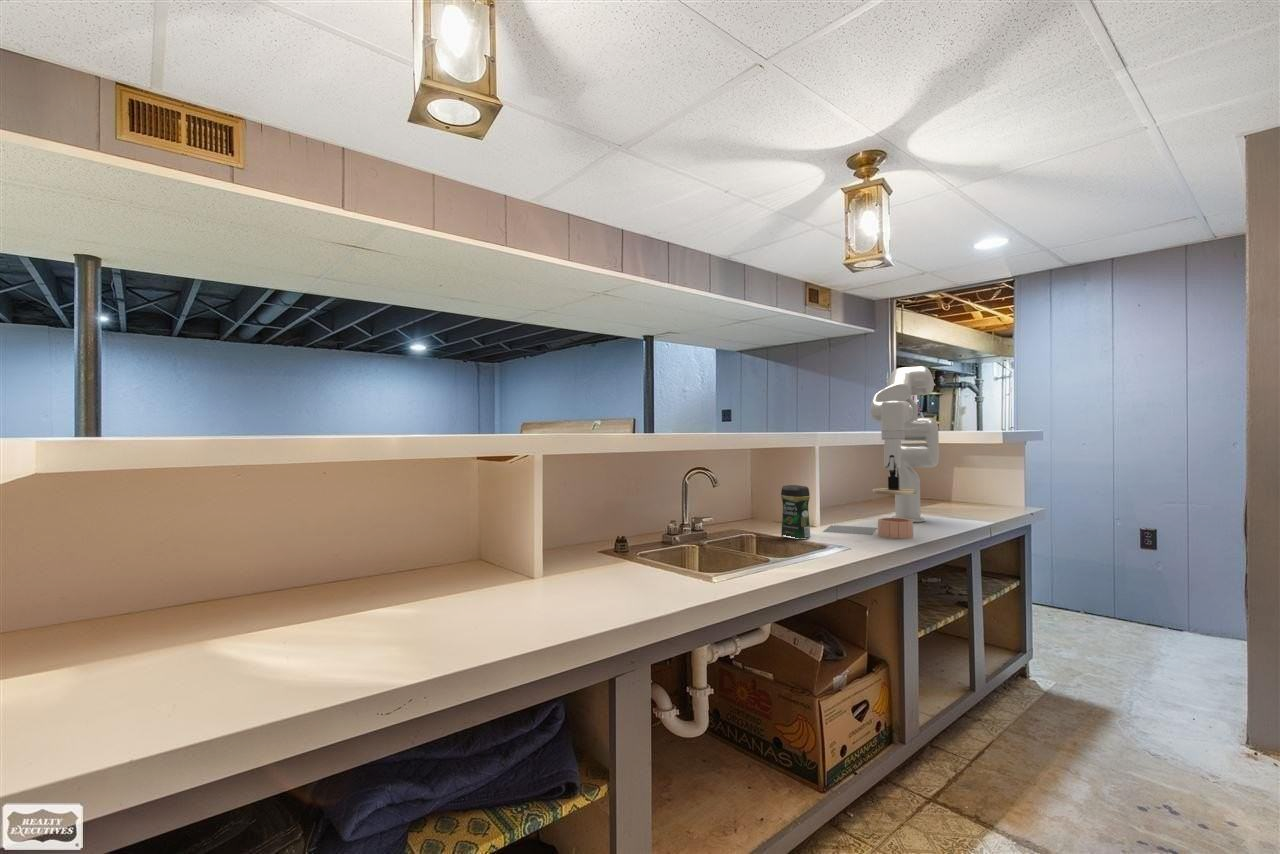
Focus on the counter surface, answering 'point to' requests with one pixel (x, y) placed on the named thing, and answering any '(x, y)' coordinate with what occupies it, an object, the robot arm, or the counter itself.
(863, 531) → the rubber mat
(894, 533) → the terracotta bowl
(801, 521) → the coffee jar
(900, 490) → the oak lid
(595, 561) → the counter surface
